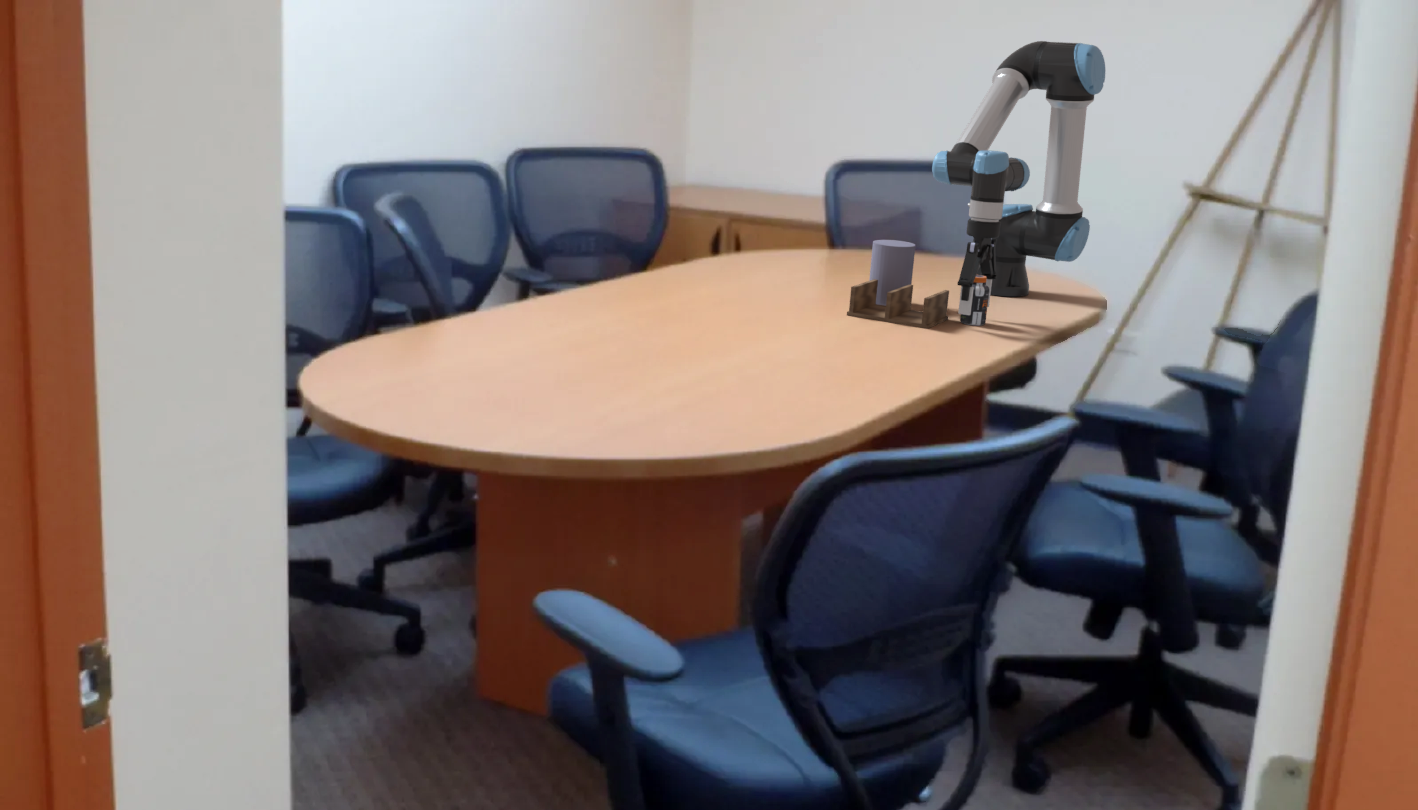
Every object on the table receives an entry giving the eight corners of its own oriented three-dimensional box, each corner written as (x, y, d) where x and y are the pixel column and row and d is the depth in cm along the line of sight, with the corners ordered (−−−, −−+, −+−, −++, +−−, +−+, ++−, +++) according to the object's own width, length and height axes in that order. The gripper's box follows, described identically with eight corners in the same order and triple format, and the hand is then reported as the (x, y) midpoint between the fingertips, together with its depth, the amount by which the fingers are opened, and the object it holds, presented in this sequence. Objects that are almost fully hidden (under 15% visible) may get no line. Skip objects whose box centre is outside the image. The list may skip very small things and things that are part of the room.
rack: (869, 306, 329) (872, 278, 327) (948, 319, 319) (951, 290, 318) (846, 315, 317) (849, 286, 315) (927, 328, 308) (930, 299, 306)
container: (872, 297, 340) (878, 238, 336) (913, 302, 337) (919, 242, 333) (862, 304, 330) (868, 243, 326) (904, 309, 327) (910, 248, 323)
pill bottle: (985, 327, 313) (991, 279, 310) (959, 324, 314) (964, 276, 311) (985, 322, 319) (991, 274, 316) (960, 319, 320) (965, 272, 317)
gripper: (985, 212, 322) (975, 300, 328) (950, 221, 301) (940, 315, 307) (1016, 216, 319) (1005, 305, 325) (983, 226, 298) (972, 320, 303)
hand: (973, 310), depth 316 cm, fingers open, 13 cm apart
